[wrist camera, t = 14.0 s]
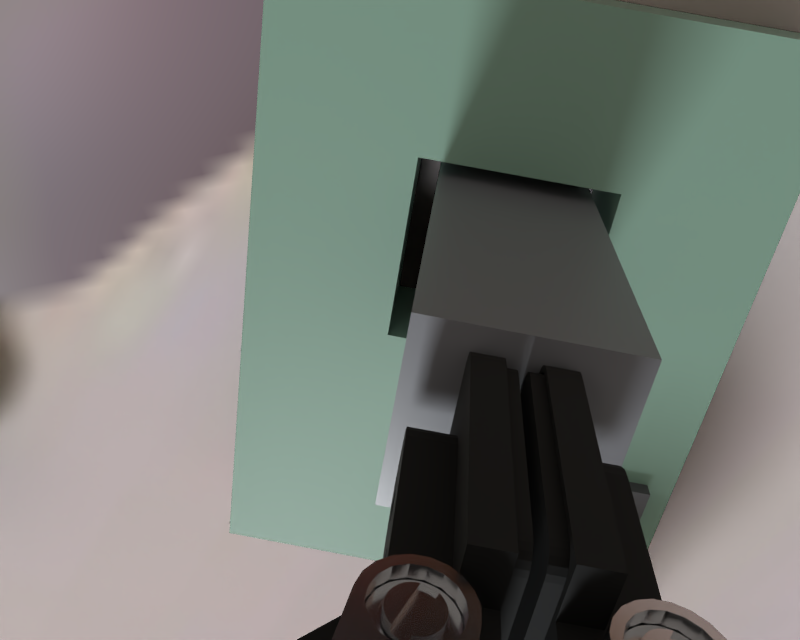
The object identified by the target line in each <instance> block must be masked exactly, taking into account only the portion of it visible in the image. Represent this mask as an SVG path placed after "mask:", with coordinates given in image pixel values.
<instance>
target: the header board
mask: <svg viewBox="0 0 800 640" xmlns="http://www.w3.org/2000/svg"><path fill="white" fill-rule="evenodd" d="M261 36H262V37H261V51H260V66H259V82H258V97H257V114H256V128H255V144H254V159H253V175H252V191H251V206H250V222H249V237H248V253H247V268H246V284H245V299H244V315H243V330H242V346H241V361H240V377H239V392H238V408H237V424H236V439H235V455H234V470H233V486H232V501H231V517H230V532H229V533H233V534H238V535H243V536H249V537H254V538H259V539H264V540H270V541H275V542H280V543H285V544H291V545H296V546H301V547H306V548H312V549H317V550H322V551H328V552H333V553H338V554H343V555H349V556H354V557H359V558H364V559H370V560H375V561H377V560H380V559H382V558H383V554H384V547H385V541H386V534H387V528H388V521H389V515H390V509H391V508H389V507H384V506H379V505H375V502H376V497H377V491H378V486H379V481H380V476H381V470H382V465H383V460H384V454H385V449H386V444H387V438H388V433H389V428H390V423H391V417H392V412H393V407H394V401H395V396H396V391H397V385H398V380H399V375H400V370H401V364H402V359H403V354H404V348H405V343H406V338H407V332H408V327H409V322H410V317H411V311H412V306H413V301H414V296H415V291H416V289H415V288H409V287H404V286H399V285H400V279H401V273H402V268H403V262H404V256H405V250H406V245H407V239H408V233H409V227H410V221H411V216H412V210H413V204H414V198H415V192H416V187H417V181H418V175H419V169H420V164H421V158H425V159H430V160H436V161H441V162H447V163H452V164H458V165H463V166H469V167H474V168H479V169H485V170H490V171H496V172H501V173H507V174H512V175H518V176H523V177H529V178H534V179H540V180H545V181H551V182H556V183H562V184H567V185H573V186H578V187H584V188H589V189H593V192H592V198H593V200H594V202H595V205H596V207H597V209H598V212H599V214H600V216H601V219H602V221H603V223H604V226H605V228H606V230H607V233H608V235H609V237H610V240H611V242H612V244H613V247H614V249H615V251H616V254H617V256H618V258H619V261H620V263H621V265H622V268H623V270H624V272H625V275H626V277H627V279H628V282H629V284H630V286H631V289H632V291H633V293H634V296H635V298H636V300H637V303H638V305H639V307H640V310H641V312H642V314H643V317H644V319H645V322H646V324H647V326H648V329H649V331H650V333H651V336H652V338H653V340H654V343H655V345H656V347H657V350H658V352H659V354H660V357H661V359H662V361H661V364H660V367H659V369H658V372H657V375H656V377H655V380H654V383H653V385H652V388H651V390H650V393H649V396H648V398H647V401H646V404H645V406H644V409H643V412H642V414H641V417H640V419H639V422H638V425H637V427H636V430H635V433H634V435H633V438H632V441H631V443H630V446H629V448H628V451H627V454H626V456H625V459H624V462H623V464H622V467H623V468H624V469H625V471H626V474H627V476H628V480H629V483H630V487H631V491H632V494H633V498H634V501H635V505H636V509H637V512H638V516H639V520H640V523H641V527H642V531H643V534H644V538H645V542H646V545H647V549H648V547H649V545H650V543H651V540H652V538H653V536H654V533H655V531H656V529H657V526H658V524H659V522H660V519H661V517H662V514H663V512H664V510H665V507H666V505H667V503H668V500H669V498H670V496H671V493H672V491H673V489H674V486H675V484H676V482H677V479H678V477H679V475H680V472H681V470H682V468H683V465H684V463H685V461H686V458H687V456H688V454H689V451H690V449H691V447H692V444H693V442H694V440H695V437H696V435H697V433H698V430H699V428H700V425H701V423H702V421H703V418H704V416H705V414H706V411H707V409H708V407H709V404H710V402H711V400H712V397H713V395H714V393H715V390H716V388H717V386H718V383H719V381H720V379H721V376H722V374H723V372H724V369H725V367H726V365H727V362H728V360H729V358H730V355H731V353H732V351H733V348H734V346H735V343H736V341H737V339H738V336H739V334H740V332H741V329H742V327H743V325H744V322H745V320H746V318H747V315H748V313H749V311H750V308H751V306H752V304H753V301H754V299H755V297H756V294H757V292H758V290H759V287H760V285H761V283H762V280H763V278H764V276H765V273H766V271H767V269H768V266H769V264H770V262H771V259H772V257H773V254H774V252H775V250H776V247H777V245H778V243H779V240H780V238H781V236H782V233H783V231H784V229H785V226H786V224H787V222H788V219H789V217H790V215H791V212H792V210H793V208H794V205H795V203H796V201H797V198H798V196H799V194H800V33H797V32H791V31H785V30H780V29H774V28H769V27H763V26H757V25H752V24H746V23H741V22H735V21H729V20H724V19H718V18H713V17H707V16H701V15H696V14H690V13H685V12H679V11H673V10H668V9H662V8H656V7H651V6H645V5H640V4H634V3H628V2H623V1H617V0H264V5H263V20H262V35H261Z"/></svg>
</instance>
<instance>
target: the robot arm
mask: <svg viewBox="0 0 800 640" xmlns="http://www.w3.org/2000/svg"><path fill="white" fill-rule="evenodd" d="M297 640H727V639H726V638H725V637H724V636H723V635H722V634H721V633H720V632H719V631H718V630H717V629H716V628H715V627H714V626H713V625H711V624H710V623H709V622H708V621H706V620H705V619H703V618H702V617H700V616H698V615H697V614H695V613H694V612H692V611H691V610H688V609H686V608H684V607H681V606H679V605H676V604H674V603H672V602H667V601H662V600H661V596H660V593H659V589H658V585H657V582H656V578H655V574H654V571H653V567H652V563H651V560H650V556H649V552H648V549H647V545H646V542H645V538H644V534H643V531H642V527H641V523H640V520H639V516H638V512H637V509H636V505H635V501H634V498H633V494H632V491H631V487H630V483H629V480H628V476H627V474H626V471H625V469H624V468H623V467H621V466H618V465H613V464H607V463H602V459H601V455H600V450H599V446H598V442H597V437H596V433H595V429H594V425H593V420H592V416H591V412H590V407H589V403H588V399H587V395H586V390H585V386H584V382H583V378H582V374H581V372H579V371H574V370H568V369H563V368H557V367H552V366H546V365H543V366H542V368H541V370H540V372H539V374H538V373H532V372H528V373H527V375H526V377H525V380H524V383H523V387H522V390H521V394H520V382H519V372H518V370H516V369H510V368H507V363H506V358H503V357H497V356H492V355H486V354H481V353H476V352H469V355H468V358H467V361H466V365H465V370H464V374H463V378H462V383H461V387H460V391H459V396H458V400H457V404H456V409H455V413H454V417H453V422H452V426H451V430H450V434H445V433H440V432H435V431H429V430H424V429H418V428H413V427H408V426H407V427H406V431H405V435H404V440H403V445H402V450H401V455H400V460H399V465H398V470H397V476H396V481H395V486H394V492H393V498H392V503H391V509H390V515H389V521H388V528H387V534H386V541H385V547H384V554H383V558H382V559H380V560H377V561H375V562H374V563H372V564H371V565H370V566H368V567H367V568H366V569H364V570H363V571H362V572H361V574H360V576H359V577H358V579H357V580H356V582H355V583H354V585H353V588H352V590H351V593H350V595H349V598H348V600H347V603H346V605H345V608H344V610H343V613H342V615H341V616H339V617H338V618H336V619H334V620H332V621H330V622H328V623H327V624H325V625H323V626H321V627H319V628H317V629H316V630H314V631H312V632H310V633H308V634H306V635H305V636H303V637H301V638H299V639H297Z"/></svg>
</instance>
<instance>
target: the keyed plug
mask: <svg viewBox="0 0 800 640" xmlns="http://www.w3.org/2000/svg"><path fill="white" fill-rule="evenodd" d="M469 352H476V353H481V354H486V355H492V356H497V357H503V358H506V363H507V368H510V369H516V370H518V372H519V382H520V394H521V390H522V387H523V383H524V380H525V377H526V375H527V373H528V372H532V373H538V374H539V372H540V370H541V368H542V366H543V365H546V366H552V367H557V368H563V369H568V370H574V371H579V372H581V374H582V378H583V382H584V386H585V390H586V395H587V399H588V403H589V407H590V412H591V416H592V420H593V425H594V429H595V433H596V437H597V442H598V446H599V450H600V455H601V459H602V463H607V464H613V465H618V466H621V467H622V464H623V462H624V459H625V456H626V454H627V451H628V448H629V446H630V443H631V441H632V438H633V435H634V433H635V430H636V427H637V425H638V422H639V419H640V417H641V414H642V412H643V409H644V406H645V404H646V401H647V398H648V396H649V393H650V390H651V388H652V385H653V383H654V380H655V377H656V375H657V372H658V369H659V367H660V364H661V361H662V359H661V357H660V354H659V352H658V350H657V347H656V345H655V343H654V340H653V338H652V336H651V333H650V331H649V329H648V326H647V324H646V322H645V319H644V317H643V314H642V312H641V310H640V307H639V305H638V303H637V300H636V298H635V296H634V293H633V291H632V289H631V286H630V284H629V282H628V279H627V277H626V275H625V272H624V270H623V268H622V265H621V263H620V261H619V258H618V256H617V254H616V251H615V249H614V247H613V244H612V242H611V240H610V237H609V235H608V233H607V230H606V228H605V226H604V223H603V221H602V219H601V216H600V214H599V212H598V209H597V207H596V205H595V202H594V200H593V198H592V195H591V193H590V191H589V188H584V187H578V186H573V185H567V184H562V183H556V182H551V181H545V180H540V179H534V178H529V177H523V176H518V175H512V174H507V173H501V172H496V171H490V170H485V169H479V168H474V167H469V166H463V165H458V164H452V163H447V162H441V166H440V171H439V176H438V181H437V186H436V191H435V196H434V201H433V206H432V211H431V216H430V221H429V226H428V231H427V236H426V241H425V246H424V251H423V256H422V261H421V266H420V271H419V276H418V281H417V286H416V291H415V296H414V301H413V306H412V311H411V317H410V322H409V327H408V332H407V338H406V343H405V348H404V354H403V359H402V364H401V370H400V375H399V380H398V385H397V391H396V396H395V401H394V407H393V412H392V417H391V423H390V428H389V433H388V438H387V444H386V449H385V454H384V460H383V465H382V470H381V476H380V481H379V486H378V491H377V497H376V502H375V505H379V506H384V507H389V508H391V503H392V498H393V492H394V486H395V481H396V476H397V470H398V465H399V460H400V455H401V450H402V445H403V440H404V435H405V431H406V427H407V426H408V427H413V428H418V429H424V430H429V431H435V432H440V433H445V434H450V430H451V426H452V422H453V417H454V413H455V409H456V404H457V400H458V396H459V391H460V387H461V383H462V378H463V374H464V370H465V365H466V361H467V358H468V355H469Z"/></svg>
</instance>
